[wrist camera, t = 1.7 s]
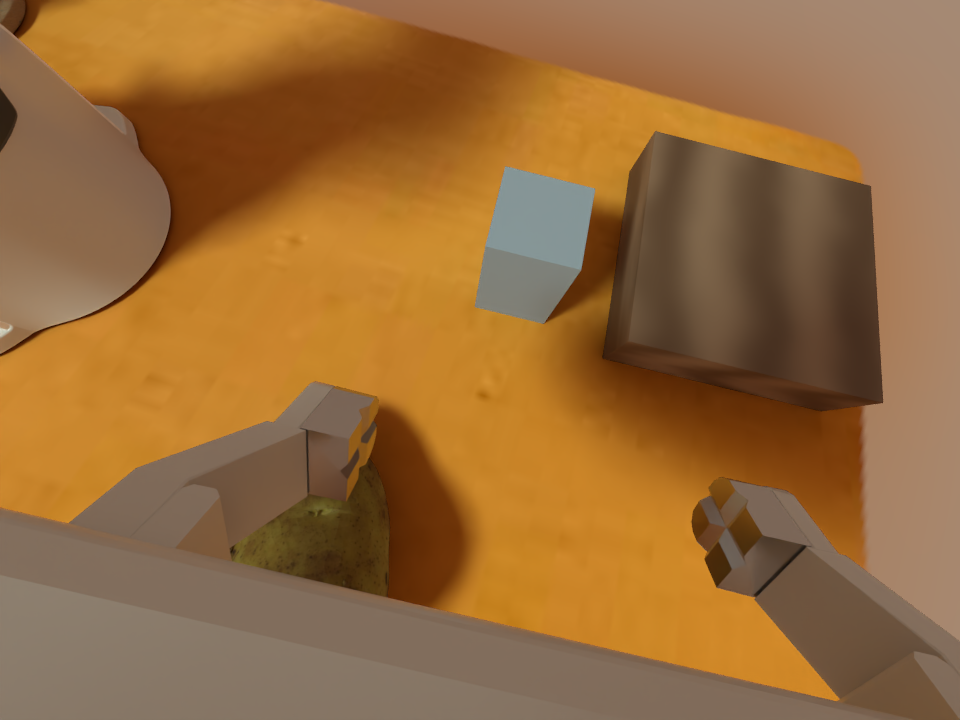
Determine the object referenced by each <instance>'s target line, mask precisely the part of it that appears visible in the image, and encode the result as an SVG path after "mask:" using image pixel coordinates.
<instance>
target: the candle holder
mask: <svg viewBox="0 0 960 720" xmlns="http://www.w3.org/2000/svg"><path fill="white" fill-rule="evenodd" d="M24 15H25V1H24V0H0V24H1V25H3V26H4V27H5V28H6V29H8V30H9V31H10V32H11V33H12V34H13V33H14V32H15V31H16V30H17V28H18V27H19V26H20V24H21V22H22V20H23V18H24Z"/></svg>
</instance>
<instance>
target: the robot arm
mask: <svg viewBox="0 0 960 720" xmlns="http://www.w3.org/2000/svg"><path fill="white" fill-rule="evenodd" d="M170 217H171V208H170V199H169V195H168V191H167V188H166V186H165V183H164V182H163V180H162V178H161V176H160V175H159V173H158V172H157V170H156V169H155V168H154V167H153V166H152V165H151V163H150V162H149V161H148V160H147V159H146V158H145V157H144V155H143V154H142V153H141V151H140V149H139V146H138V141H137V136H136V132H135V129H134V126H133V124H132V123H131V121H130V120H129V119H128V118H126V117H125V116H124V115H123V114H122V113H121V112H120V111H119V110H117V109H115V108H113V107H108V106H98V105H92V104H91V103H90V102H89V101H88V100H87V99H86V98H84V97H83V96H82V95H81V94H80V93H79V92H78V91H77V90H76V89H74V88H73V87H72V86H71V85H70V84H69V83H68V82H67V81H65V80H64V79H63V78H62V77H61V76H60V75H59V74H58V73H56V72H55V71H54V70H53V69H52V68H51V67H50V66H49V65H47V64H46V63H45V62H44V61H43V60H42V59H41V58H39V57H38V56H37V55H36V54H35V53H34V52H33V51H32V50H30V49H29V48H28V47H27V46H26V45H25V44H24V43H22V42H21V41H20V40H19V39H18V38H17V37H16V36H14V35H13V34H12V33H11V32H10V31H9V30H8V29H6V28H5V27H4V26H3V25H1V24H0V354H1V353H3V352H5V351H6V350H8V349H10V348H11V347H13V346H15V345H16V344H18V343H19V342H21V341H22V340H24V339H25V338H27V337H28V336H30V335H31V334H33V333H34V332H36V331H39V330H41V329H44V328H47V327H49V326H53V325H56V324H60V323H64V322H67V321H71V320H74V319H77V318H80V317H82V316H85V315H87V314H90V313H92V312H94V311H96V310H98V309H100V308H102V307H104V306H106V305H107V304H109V303H111V302H112V301H114V300H115V299H117V298H118V297H120V296H121V295H123V294H124V293H125V292H126V291H128V290H129V289H130V288H131V287H132V286H133V285H135V284H136V283H137V282H138V281H139V280H140V279H141V278H142V277H143V275H144V274H145V273H146V272H147V271H148V270H149V268H150V267H151V266H152V264H153V263H154V261H155V260H156V258H157V257H158V255H159V253H160V251H161V249H162V247H163V245H164V242H165V240H166V237H167V233H168V230H169V225H170ZM378 406H379V399H378V397H377V396H373V395H369V394H365V393H361V392H357V391H353V390H350V389H346V388H342V387H338V386H333V385H329V384H325V383H321V382H317V381H315V382H312V383H310V384H309V385H308V386H307V387H306V388H305V390H304V391H303V392H302V393H301V394H300V395H299V396H298V397H297V398H296V399H295V400H294V401H293V402H292V403H291V405H290V406H289V407H288V408H287V409H286V410H285V411H284V412H283V413H282V414H281V415H280V416H279V417H278V418H277V420H276V421H275V422H274V423H273V422H269V421H266V422H263V423H260V424H258V425H255V426H252V427H249V428H247V429H244V430H241V431H238V432H235V433H233V434H230V435H227V436H224V437H222V438H219V439H216V440H213V441H210V442H208V443H205V444H202V445H199V446H196V447H194V448H191V449H188V450H185V451H183V452H180V453H177V454H174V455H171V456H169V457H166V458H163V459H160V460H157V461H155V462H152V463H149V464H146V465H144V466H141V467H138V468H136V469H135V470H133V471H132V472H131V473H130V474H128V475H127V476H126V477H125V478H124V479H122V480H121V481H120V482H119V483H117V484H116V485H115V486H114V487H112V488H111V489H110V490H109V491H108V492H106V493H105V494H104V495H103V496H101V497H100V498H99V499H98V500H97V501H95V502H94V503H93V504H92V505H90V506H89V507H88V508H87V509H85V510H84V511H83V512H82V513H81V514H79V515H78V516H77V517H76V518H74V519H73V520H72V521H71V522H69V523H64V522H60V521H56V520H51V519H47V518H43V517H38V516H34V515H30V514H25V513H21V512H17V511H12V510H8V509H4V508H0V720H960V641H959V640H957V639H956V638H955V637H953V636H952V635H951V634H949V633H948V632H947V631H945V630H944V629H943V628H941V627H940V626H939V625H937V624H936V623H935V622H933V621H932V620H931V619H929V618H928V617H927V616H925V615H924V614H923V613H921V612H920V611H919V610H917V609H916V608H915V607H913V606H912V605H911V604H909V603H908V602H907V601H905V600H904V599H903V598H901V597H900V596H899V595H897V594H896V593H895V592H893V591H892V590H891V589H889V588H888V587H887V586H885V585H884V584H883V583H881V582H880V581H879V580H877V579H876V578H875V577H874V576H872V575H871V574H870V573H868V572H867V571H866V570H864V569H863V568H862V567H860V566H859V565H858V564H856V563H855V562H854V561H852V560H851V559H850V558H848V557H847V556H845V555H841V554H838V552H837V551H836V550H835V549H834V547H833V546H832V545H831V543H830V542H829V541H828V539H827V538H826V537H825V536H824V534H823V533H822V532H821V530H820V529H819V528H818V526H817V525H816V524H815V522H814V521H813V520H812V519H811V517H810V516H809V515H808V513H807V512H806V511H805V509H804V508H803V507H802V505H801V504H800V503H799V502H798V500H797V499H796V498H795V496H794V495H792V494H791V493H789V492H788V491H786V490H781V489H776V488H772V487H767V486H759V485H755V484H750V483H746V482H742V481H737V480H733V479H728V478H724V477H719V478H718V479H716V480H714V481H713V483H712V484H711V485H710V487H709V492H710V496H709V497H707V498H704V499H702V500H700V501H699V502H698V504H697V505H696V507H695V509H694V510H693V515H692V529H693V533H694V536H695V538H696V540H697V542H698V543H699V544H700V545H701V546H702V547H703V548H704V549H705V550H706V551H707V553H706V556H705V562H706V564H707V566H708V569H709V571H710V573H711V576H712V578H713V580H714V583H715V585H716V587H717V588H720V589H724V590H728V591H732V592H736V593H739V594H743V595H747V596H751V597H755V599H754V600H755V601H756V602H757V603H758V604H759V605H760V606H761V608H762V609H763V610H764V611H765V612H766V613H767V615H768V616H769V617H770V618H771V619H772V620H773V622H774V623H775V624H776V625H777V626H778V627H779V629H780V630H781V631H782V632H783V633H784V634H785V636H786V637H787V638H788V639H789V640H790V641H791V643H792V644H793V645H794V646H795V647H796V648H797V650H798V651H799V652H800V653H801V654H802V655H803V657H804V658H805V659H806V660H807V661H808V662H809V664H810V665H811V666H812V667H813V668H814V669H815V671H816V672H817V673H818V674H819V675H820V676H821V678H822V679H823V680H824V681H825V682H826V683H827V685H828V686H829V687H830V688H831V689H832V690H833V692H834V693H835V694H836V695H837V696H838V697H839V699H840V700H838V701H832V700H828V699H824V698H819V697H815V696H811V695H806V694H802V693H798V692H793V691H789V690H785V689H780V688H776V687H772V686H767V685H763V684H759V683H754V682H750V681H746V680H741V679H737V678H733V677H728V676H724V675H720V674H715V673H711V672H706V671H702V670H698V669H693V668H689V667H685V666H680V665H676V664H672V663H667V662H663V661H659V660H654V659H650V658H646V657H641V656H637V655H633V654H628V653H624V652H620V651H615V650H611V649H607V648H602V647H598V646H594V645H590V644H585V643H581V642H577V641H572V640H568V639H564V638H560V637H555V636H551V635H547V634H542V633H538V632H534V631H529V630H525V629H521V628H517V627H512V626H508V625H504V624H499V623H495V622H491V621H487V620H482V619H478V618H474V617H469V616H465V615H461V614H456V613H452V612H448V611H443V610H439V609H435V608H431V607H426V606H422V605H418V604H413V603H409V602H405V601H400V600H396V599H392V598H387V597H383V596H379V595H374V594H370V593H366V592H362V591H357V590H353V589H349V588H344V587H340V586H336V585H331V584H327V583H323V582H318V581H314V580H310V579H305V578H301V577H297V576H293V575H288V574H284V573H280V572H275V571H271V570H267V569H262V568H258V567H254V566H249V565H245V564H241V563H236V562H232V559H231V554H230V549H229V548H231V547H232V546H234V545H235V544H237V543H238V542H240V541H241V540H243V539H244V538H246V537H247V536H249V535H250V534H252V533H253V532H255V531H256V530H258V529H259V528H260V527H262V526H263V525H265V524H266V523H268V522H269V521H271V520H272V519H274V518H275V517H277V516H278V515H280V514H281V513H283V512H284V511H286V510H287V509H289V508H290V507H292V506H293V505H295V504H296V503H298V502H299V501H301V500H302V499H304V498H305V497H307V496H308V494H312V495H317V496H321V497H326V498H331V499H336V500H341V501H347V499H348V497H349V495H350V493H351V491H352V490H353V488H354V486H355V484H356V482H357V480H358V475H359V468H360V467H361V466H363V465H365V464H366V462H367V460H368V458H369V456H370V454H371V451H372V448H373V445H374V442H375V437H376V430H377V425H376V424H375V422H374V421H373V420H374V418H375V416H376V414H377V412H378Z"/></svg>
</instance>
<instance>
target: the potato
mask: <svg viewBox="0 0 960 720" xmlns="http://www.w3.org/2000/svg"><path fill="white" fill-rule="evenodd" d="M389 537H390V522H389V513H388V506H387V501H386V495H385V491H384V487H383V484H382V481H381V478H380V476H379V473H378V471H377V469H376V467H375V466H374V464H373V463H372V461H371V460H370V459H369V458H368V460H367V462H366V464H365V465H363V466H361V467H360V468H359V475H358V480H357V482H356V484H355V486H354V488H353V490H352V491H351V493H350V495H349V497H348V499H347V501H341V500H336V499H331V498H326V497H321V496H317V495H312V494H308V496H307V497H305V498H304V499H302V500H301V501H299V502H298V503H296V504H295V505H293V506H292V507H290V508H289V509H287V510H286V511H284V512H283V513H281V514H280V515H278V516H277V517H275V518H274V519H272V520H271V521H269V522H268V523H266V524H265V525H263V526H262V527H260V528H259V529H258V530H256V531H255V532H253V533H252V534H250V535H249V536H247V537H246V538H244V539H243V540H241V541H240V542H238V543H237V544H235V545H234V546H232V547H231V548H229V549H230V554H231V559H232V562H236V563H241V564H245V565H249V566H254V567H258V568H262V569H267V570H271V571H275V572H280V573H284V574H288V575H293V576H297V577H301V578H305V579H310V580H314V581H318V582H323V583H327V584H331V585H336V586H340V587H344V588H349V589H353V590H357V591H362V592H366V593H370V594H374V595H379V596H383V597H387V598H388V586H389Z"/></svg>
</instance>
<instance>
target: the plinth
mask: <svg viewBox="0 0 960 720" xmlns="http://www.w3.org/2000/svg"><path fill="white" fill-rule="evenodd" d="M878 323H879V322H878V305H877V287H876V269H875V252H874V235H873V216H872V198H871V186H868V185H864V184H861V183H857V182H853V181H849V180H845V179H841V178H837V177H833V176H829V175H825V174H821V173H817V172H813V171H810V170H806V169H802V168H798V167H794V166H790V165H786V164H782V163H778V162H774V161H770V160H766V159H762V158H758V157H755V156H751V155H747V154H743V153H739V152H735V151H731V150H727V149H723V148H719V147H715V146H711V145H707V144H704V143H700V142H696V141H692V140H688V139H684V138H680V137H676V136H672V135H668V134H664V133H660V132H656V131H655V132H654V134H653V136H652V137H651V139H650V140H649V142H648V144H647V145H646V147H645V148H644V150H643V152H642V153H641V155H640V156H639V158H638V159H637V161H636V163H635V164H634V166H633V167H632V169H631V171H630V173H629V180H628V187H627V194H626V201H625V207H624V214H623V221H622V228H621V235H620V242H619V249H618V256H617V263H616V270H615V277H614V284H613V290H612V297H611V304H610V311H609V318H608V325H607V332H606V339H605V346H604V353H603V359H607V360H612V361H616V362H620V363H624V364H628V365H632V366H637V367H641V368H645V369H649V370H653V371H657V372H661V373H666V374H670V375H674V376H678V377H682V378H686V379H690V380H695V381H699V382H703V383H707V384H711V385H715V386H719V387H724V388H728V389H732V390H736V391H740V392H744V393H748V394H753V395H757V396H761V397H765V398H769V399H773V400H778V401H782V402H786V403H790V404H794V405H798V406H802V407H807V408H811V409H815V410H819V411H827V410H834V409H842V408H849V407H856V406H864V405H871V404H878V403H883V392H882V375H881V357H880V341H879V340H880V339H879V324H878Z"/></svg>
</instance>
